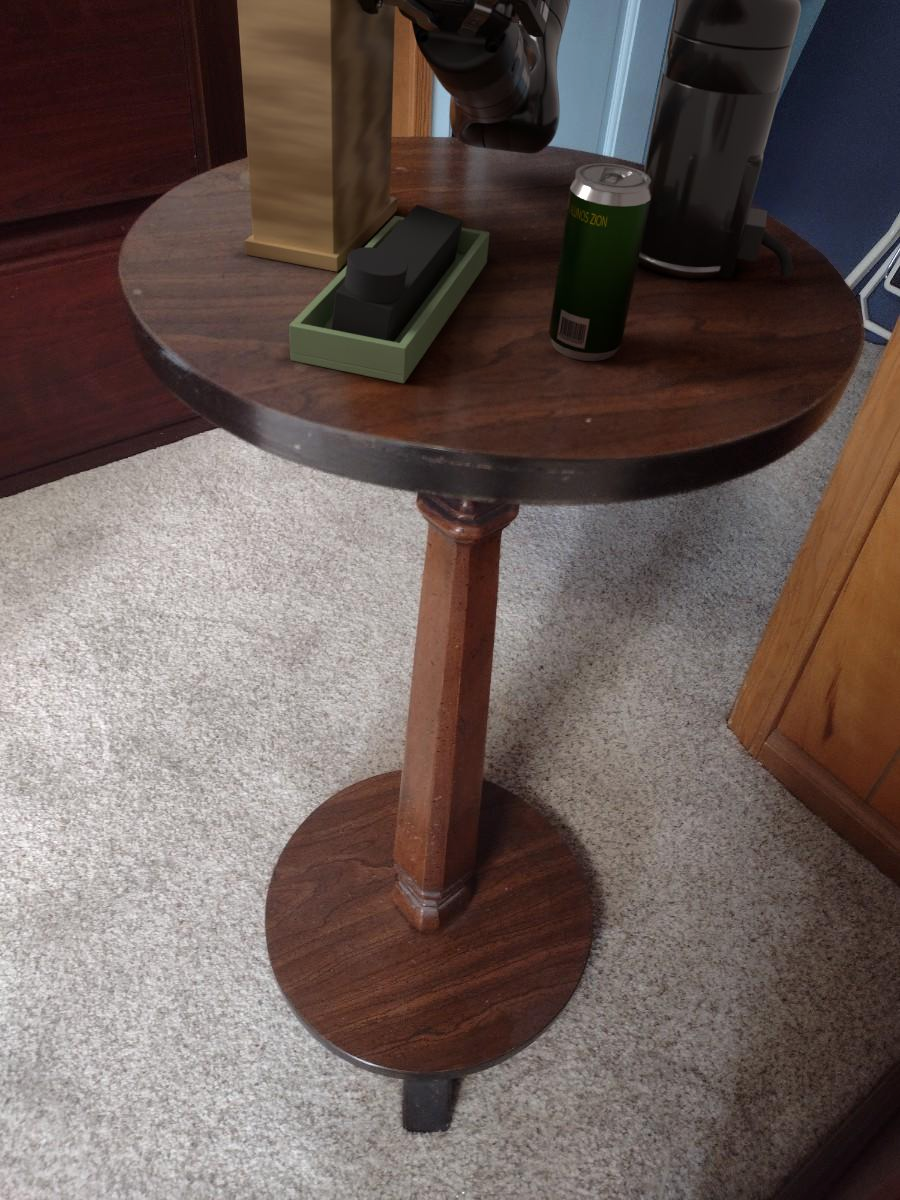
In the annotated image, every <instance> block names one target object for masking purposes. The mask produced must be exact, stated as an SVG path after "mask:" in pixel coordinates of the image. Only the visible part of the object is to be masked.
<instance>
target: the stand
mask: <svg viewBox="0 0 900 1200" xmlns="http://www.w3.org/2000/svg"><path fill="white" fill-rule="evenodd" d="M236 2H237V3H236V5H237V19H238V31H239V46H240V47H239V48H240V63H241V64H240V65H241V76H242V78H241V80H242V93H243V106H244V107H243V109H244V123H245V136H246V137H245V138H246V150H247V167H248V181H249V184H248V185H249V196H250V197H249V198H250V212H251V227H252V228H251V229H252V234H251V235H250V236H249V237H247V238H246V239H244V248H245V255H246V256H251V257H256V258H262V259H266V260H272V261H278V262H283V263H288V264H294V265H299V266H304V267H310V268H315V269H321V270H324V271H325V270H326V271H331V272H336V273H338V272H339V271H340V270H341V269H342V268H343V267H344V266H345V265H346V264H347V260H348V255H349V253H350V252H351V251H353V250H355V249H358V248H363V246H364V245H365V244H367V242H368V241H370V239H371V238H373V237H374V236H375V234H376V233H377V232H378V231H379V230H381V229H380V228H382V227H383V226H384V224H385V223H387V221H389V219H390V218H391V217H392V216H394V215H395V213H397V211H398V210H397V209H398V208H397V207H398V198H397V197H393V196H391V177H392V176H391V171H392V138H393V137H392V136H393V133H392V132H393V128H392V127H393V101H394V97H393V94H394V65H395V62H394V60H395V27H396V26H395V25H396V24H395V23H396V6H392V5H386V4H382V8H379V11H378V14H368V13H367V12H365V11H363V10H362V8H361V6H360V3H359V1H358V0H236Z"/></svg>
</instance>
